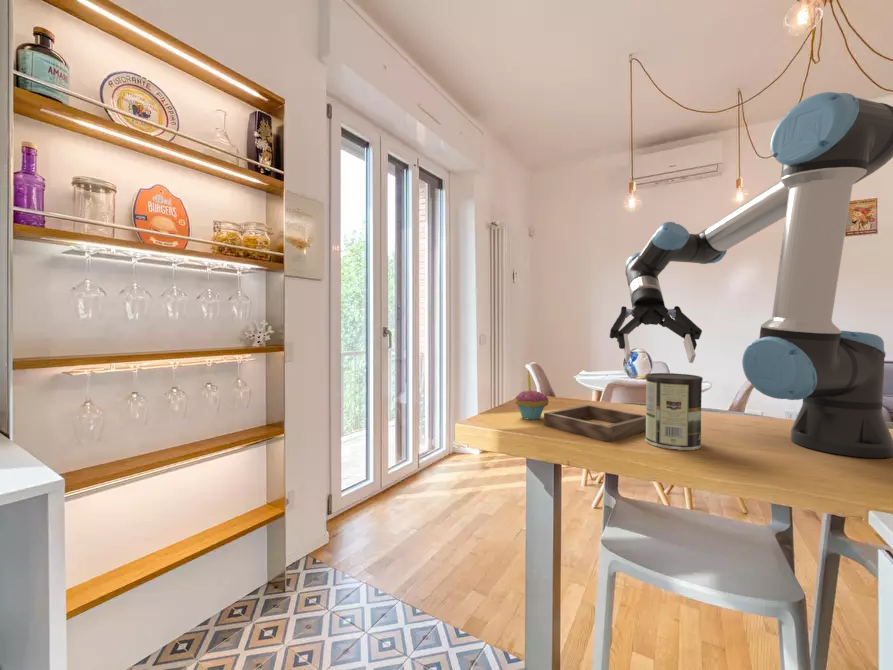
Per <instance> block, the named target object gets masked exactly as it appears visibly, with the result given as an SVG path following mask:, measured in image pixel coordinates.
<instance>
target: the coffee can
mask: <svg viewBox="0 0 893 670" xmlns="http://www.w3.org/2000/svg"><path fill="white" fill-rule="evenodd" d="M645 379H646V380H645V381H646V382H645V386H646V387H645V388H646V390H645V416H646V431H645V442H646V443H648V444H649V445H651V446H653V445H654V446H653V447H657V446H658V448H660V447H661V448H660V449H665V448H668V449H667V450H671V449H678V450H677V451H683V450H689V451H696V450H695V449H697V450H699V448H700V449H701V448H702V398H703V397H702V395H703V394H702V389H703V388H702V387H703V384H702V383H703V377H702V376H699V375H695V374H686V373H674V372H673V373H671V372H670V373H669V372H653V373H647V374H645Z"/></svg>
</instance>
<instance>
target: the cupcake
mask: <svg viewBox="0 0 893 670" xmlns="http://www.w3.org/2000/svg"><path fill="white" fill-rule="evenodd" d="M529 372H530V371H529V370H528V371H527V385H528V386H527V388H528V390H525V391H522V392H519V394H518V395H516V396H515V401H514V402H515V404H516V405H517V407H518V410H519V412H520V414H521V415H520V416H521V418H522V417H523V418H522V419H524V418H528V419H527V420H530V419H536V420H539V419H538V418H540V419H541V417H542V414H543V410H544V409H545V408H546V407H547V406H548V405H549V402H550V401H549V398H548V397H547V395H545V394H544V393H543V392H540V391H536V390H532V387H531V385H532V384H531V382H532V381H531V374H530V373H529Z"/></svg>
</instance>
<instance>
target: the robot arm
mask: <svg viewBox="0 0 893 670" xmlns="http://www.w3.org/2000/svg"><path fill="white" fill-rule="evenodd" d="M769 148H770V152H771V155H772V157H774V159H775V160H776V161H777V162H778V163H779V164H782V166H781V172H780V173H781V174H780V180H778V181H777V182H775V183H774V184H773V185H770V187H768V188H767V189H765V190H763V191H762V192H761V193H759V194H757V195H756V196H754V197H753V198H751V199H749V200H748V201H746V202H745V203H743V205H741V206H739V207H738V208H736V209H734V210H733V211H731V212H729V214H727V215H726V216H723V217H722V218H721V219H719V220H718V221H716V222H714V223H713V224H712V225H710V226H708V227H707V228H705V229H704V230H702V231H700V232H699V233H690V232H689V231H688V229H687V228H686V227H684V226H683V225H681V224H679V223H676V222H674V221H666V222H664V223H662V224H661V225H660V226H659V227H658V229H657V230H656V231H655V232H653V234H652V236H651V237H650V239H649V240H648V242H647V243H646V244H645V245H644V247H643V248H642V249H641V251H640V252H636V253H634V254H632V255H630V256H629V257H628V258H627V259H626V261H625V265H624V266H625V276H626V280H627V285H628V290H629V297H630V302H631V308H632V309H629V308H627V307H626V306H621V308H620V314H619V315H618V317H617V318H616V320H615V321H614V324H612V327H611V329H610V331H609V332H610V333H609V338H610V339H616V341H617V344H618V348H619V349H620V350H623V352H624V359H625V362H629V361H630V359H631V348H630V342H629V341H630V340H629V334H631V333H632V332H633V331H634V330H635V329H636V328H638V327H640V326H641V325H642V324H643V325H644V326H648V325H652V326H653V325H654V326H658V325H660V326H661V327H663V328H667V329H668V330H670V331H671V332H673V333H675V334H676V335H677V336H679V337H680V338H682V339H683V341H682V342H683V346H684V350H685V353H686V356H687V361H688V363H690V364H693V363H694V361H695V358H696V352H695V350H696V348H697V341H696V340H700V338H701V335H702V333H703V330H702V329H701V328H700V327H699V326H698V325H696V323H694V322H693V321H692V320H691V319H690V318H689V317H688V316H687V315H686V314H684V313H683V312H682V310H681V307H680V306H676V305H675V306H674V308H667V307H666V306H665V305H666V304H665V300H664V297H663V293H662V289H661V285H660V282H659V278H658V277H659V275H660V274H661V273H662V272H663V270H664V269H666V267H667V266H668V265H669V263H670V262H673V263H674V262H676V263H677V262H678V263H692V264H693V263H694V264H701V265H709V264H715V263H718V262H720V261H721V260H722V259H723V258H724V257H725V256H726V254H727V252H728V250H729V249H731V248H733V247H734V246H736V245H738V244H739V243H742V242H743V241H745V240H747V239H748V238H750V237H753V236H754V235H756V234H757V233H759V232H761V231H763V230H764V229H766V228H768V227H770V226H772V225H774V224H775V223H777V222H778V221H780V220H782V219H784V218H785V219H784V227H783V232H782V233H783V234H782V240H781V247H780V248H781V249H780V256H779V263H778V271H777V276H776V277H777V278H776V283H775V284H776V285H775V293H774V300H773V306H772V308H773V309H772V315H771V318H769V319H768V320H767V321H765V322H764V323H762V324H760V331H759V337H758V339H756V340H754V341H752V342H751V344H750V345H748V346H747V347H746V348H745V349H744V352H743V356H742V362H741V364H742V369H743V373H744V375H745V377H746V379H747V381H748V382H750V383H751V385H752V387H753V388H754V389H755V390H757V391H758V392H759V393H761V394H762V395H765V396H767V397H770V398H772V399H778V400H789V401H794V400H795V401H799V400H802V404H801V407H800V409H799V412H798V414H797V416H796V418H795V419H794V422H793V425H792V427H791V429H790V440H791V442H792V443H794V444H797V445H799V446H801V447H804V448H807V449H808V448H809V449H811V450H815V451H820V452H824V453H829V454H834V455H840V456H841V455H843V456H849V457H855V458H869V459H885V458H884V457H888V458H892V457H893V436H892V434H891V431H890V428H889V427H888V425H887V421H886V420H885V416H884V412H883V397H884V374H885V358H886V355H887V354H886V351H885V342H884V339H883V338H882V337H881V336H879V335H878V334H873V333H869V332H864V331H863V332H861V331H849V330H841V329H840V328H838V326H836V324H834V323H833V320H832V319H833V312H834V307H835V301H836V300H835V299H836V294H837V287H838V281H839V275H840V268H841V261H842V255H843V249H844V242H845V235H846V230H847V229H846V228H847V223H848V216H849V209H850V203H851V198H852V191H853V185H855V184H857V183H858V182H860V181H862V180H864V179H865V178H867V177H869V176H871V175H872V174H873V173H875V172H876V171H878V170H879V169H881V168H882V167H884V165H886V164H887V163H888V162H889V161H891V160H892V158H893V106H892V105H890V104H887V103H884V102H877V101H874V100H873V101H872V100H868V99H865V98H861V97H856V96H855V95H854V94H852V93H848V92H842V93H841V92H833V91H831V92H830V91H828V92H827V91H826V92H820V93H816V94H814V95H812V96H809V97H807V98H805V99H803V100H801V101H799V102H798V103H797V104H795V105H794V106H793V107H792V108H790V109H789V111H788V113H786V114H785V115H784V116H783V117H782V118H781V119H780V121H779V122H778V123H777V125H776V126H775V127H774V130H773V132H772V135H771V139H770V146H769ZM630 315H631V316H632V319H631V320H630V321H628V322H627V323H626V324H625V325H624V322H625V321H626V319H628V317H630ZM622 325H624V326H623V327H622ZM891 456H892V457H891Z"/></svg>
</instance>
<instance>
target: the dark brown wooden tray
mask: <svg viewBox="0 0 893 670" xmlns="http://www.w3.org/2000/svg"><path fill="white" fill-rule="evenodd" d="M587 417H588V418H589V417H590V419H594V420H599V421H604V422H609V423H612V424H608V425H606V424H602V423H597V422H594V421H593V422H592V421H588V420H584V419H587ZM582 418H583V419H582ZM545 425H546V427H549V428H553V429H558V430H561V431H565V432H568V433H573V434H576V435H581V436H583V437H589V438H592V439H596V440H600V441H604V442H609V443H610V442H612V441H616V440H619V439H624V438H626V436H627V437H630V435H631V436H633V434H634V435H637V434H641V433H644V432H646V414H645V415H644V414H639V413H635V412H634V413H633V412H628V411H623V410H618V409H612V408H608V407H607V408H606V407H602V406H596V405H591V404H584V405H579V406H574V407H567V408H563V409H558V410H553V411H547V412H544V413H543V426H545ZM640 432H641V433H640ZM623 437H624V438H623Z"/></svg>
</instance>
